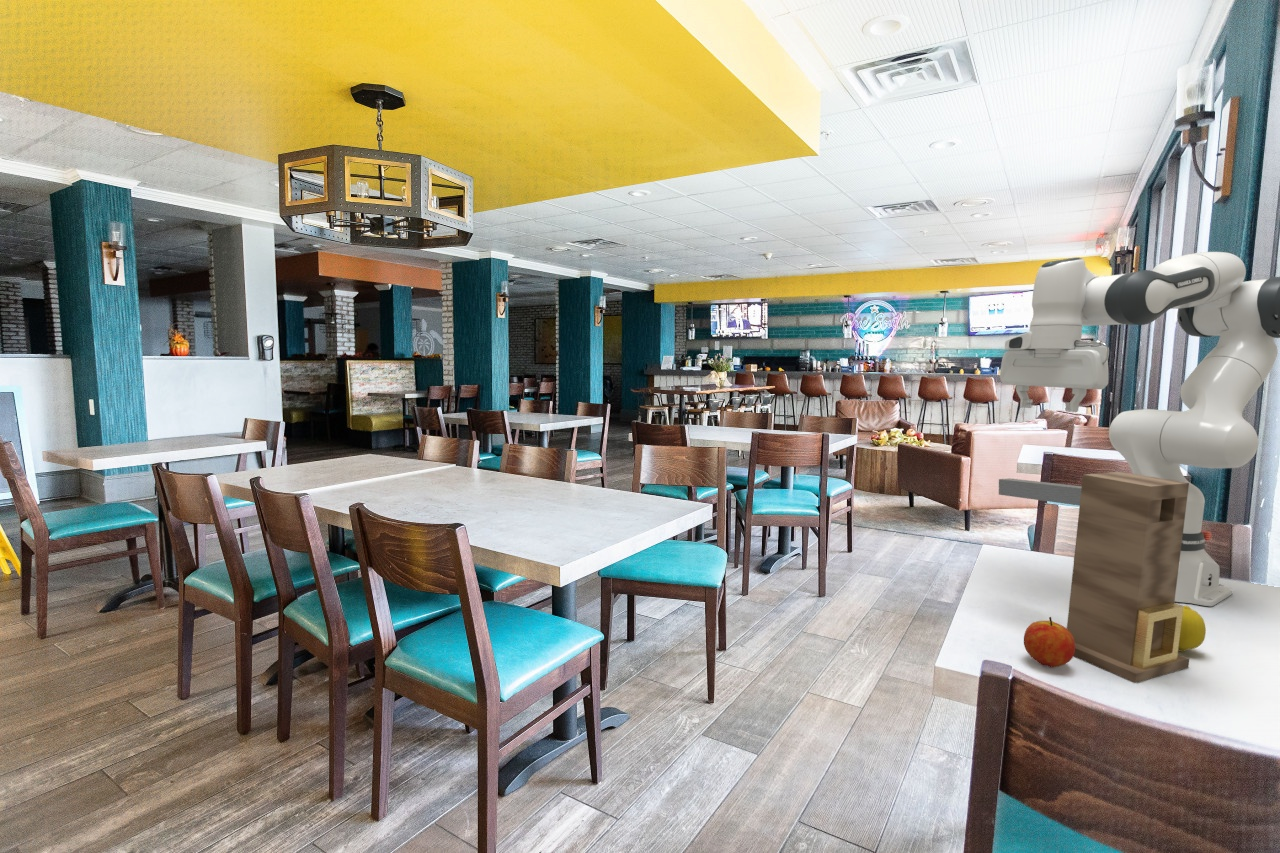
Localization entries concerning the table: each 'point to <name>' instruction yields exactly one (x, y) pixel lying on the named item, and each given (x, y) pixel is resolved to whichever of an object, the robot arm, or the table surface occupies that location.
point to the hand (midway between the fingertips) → (1047, 409)
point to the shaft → (1040, 491)
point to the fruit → (1049, 643)
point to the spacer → (1145, 631)
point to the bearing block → (1124, 567)
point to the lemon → (1191, 630)
